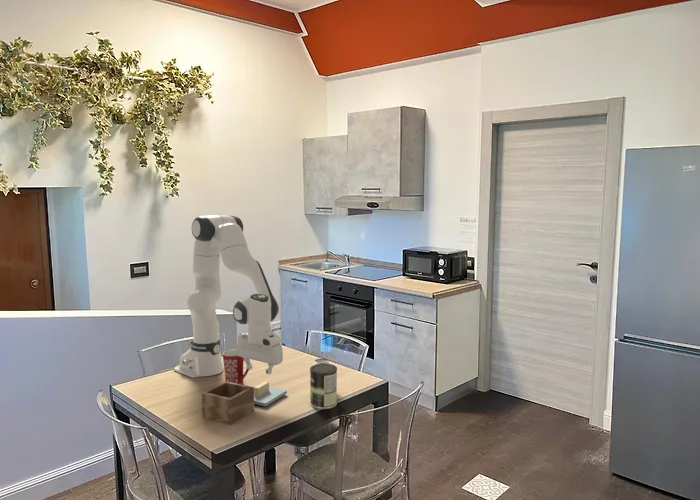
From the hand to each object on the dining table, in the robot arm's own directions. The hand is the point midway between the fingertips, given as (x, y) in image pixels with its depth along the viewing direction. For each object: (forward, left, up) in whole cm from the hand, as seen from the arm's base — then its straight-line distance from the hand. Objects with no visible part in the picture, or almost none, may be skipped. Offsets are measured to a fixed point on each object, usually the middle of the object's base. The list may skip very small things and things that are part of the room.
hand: (258, 371), depth 204 cm
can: (+17, +20, -11) cm, 28 cm away
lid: (+1, +1, -11) cm, 11 cm away
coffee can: (+25, +8, -11) cm, 28 cm away
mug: (-17, +8, -11) cm, 22 cm away
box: (-1, -16, -11) cm, 20 cm away
